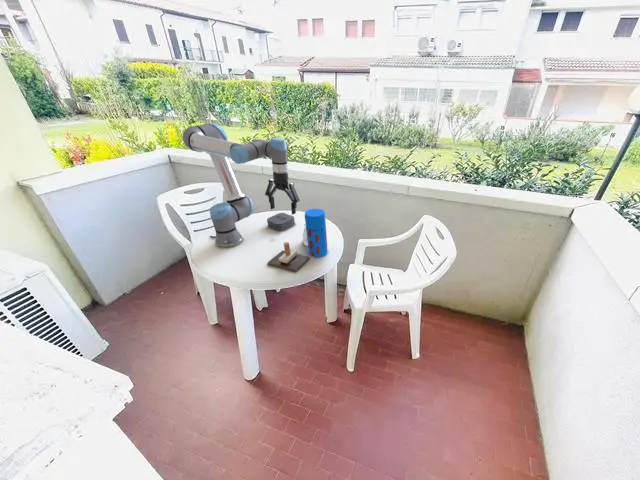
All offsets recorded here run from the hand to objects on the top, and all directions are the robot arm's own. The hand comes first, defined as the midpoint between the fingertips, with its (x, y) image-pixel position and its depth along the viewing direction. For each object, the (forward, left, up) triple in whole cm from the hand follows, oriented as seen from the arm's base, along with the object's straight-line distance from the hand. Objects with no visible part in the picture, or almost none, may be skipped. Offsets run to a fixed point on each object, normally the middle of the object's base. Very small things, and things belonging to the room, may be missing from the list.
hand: (283, 211), depth 154 cm
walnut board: (+8, -12, -24) cm, 28 cm away
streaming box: (-23, +24, -24) cm, 41 cm away
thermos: (+18, +3, -24) cm, 30 cm away
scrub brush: (+8, -12, -22) cm, 27 cm away
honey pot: (+9, +13, -24) cm, 29 cm away
